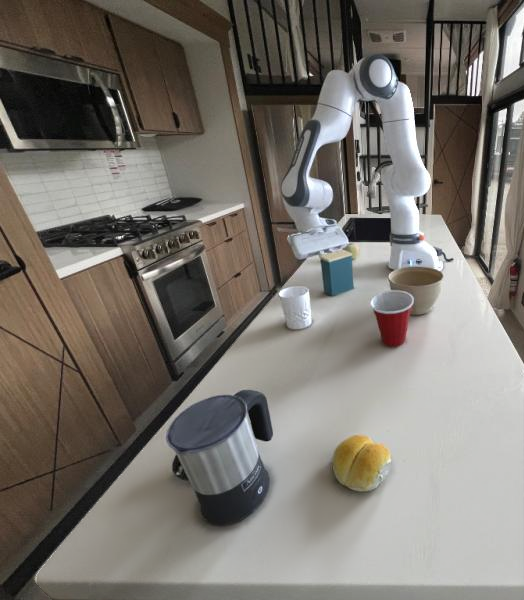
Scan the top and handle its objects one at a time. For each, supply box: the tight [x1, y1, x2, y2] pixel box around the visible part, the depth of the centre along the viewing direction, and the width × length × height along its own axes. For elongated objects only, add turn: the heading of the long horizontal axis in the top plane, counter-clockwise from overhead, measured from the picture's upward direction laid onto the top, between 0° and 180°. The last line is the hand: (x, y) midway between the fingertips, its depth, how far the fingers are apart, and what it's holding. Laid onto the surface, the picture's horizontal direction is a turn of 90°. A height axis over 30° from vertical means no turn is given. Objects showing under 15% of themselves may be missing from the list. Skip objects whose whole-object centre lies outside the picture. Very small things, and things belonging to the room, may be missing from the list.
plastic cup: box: [368, 290, 414, 348], centre depth 80 cm, size 11×11×12 cm
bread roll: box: [332, 434, 392, 492], centre depth 50 cm, size 8×9×4 cm
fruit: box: [342, 242, 360, 260], centre depth 142 cm, size 8×7×8 cm
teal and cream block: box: [318, 249, 354, 297], centre depth 110 cm, size 5×9×13 cm, turn 135°
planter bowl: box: [387, 266, 444, 316], centre depth 97 cm, size 16×16×11 cm
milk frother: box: [165, 389, 274, 527], centre depth 46 cm, size 14×16×15 cm
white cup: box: [278, 285, 312, 330], centre depth 90 cm, size 8×8×10 cm
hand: (331, 262), depth 110 cm, fingers closed
